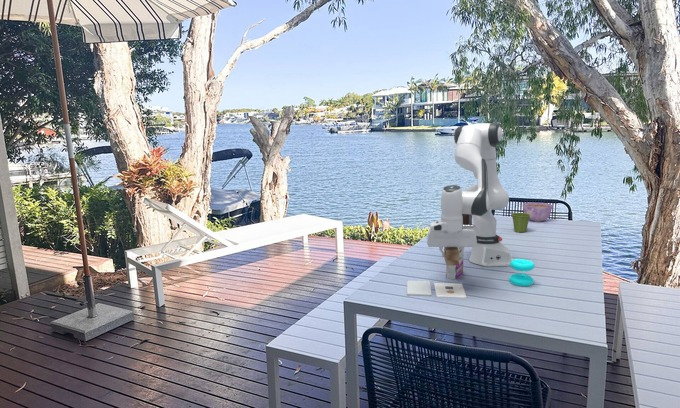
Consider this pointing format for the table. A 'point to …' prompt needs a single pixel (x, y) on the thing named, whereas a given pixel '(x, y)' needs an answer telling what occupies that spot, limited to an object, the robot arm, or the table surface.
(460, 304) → the table surface
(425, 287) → the grey mat
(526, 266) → the donuts
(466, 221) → the manual coffee grinder
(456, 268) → the candy bar box
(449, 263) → the walnut block
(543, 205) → the bowl of food
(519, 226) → the plant pot
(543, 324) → the table surface
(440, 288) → the plate
